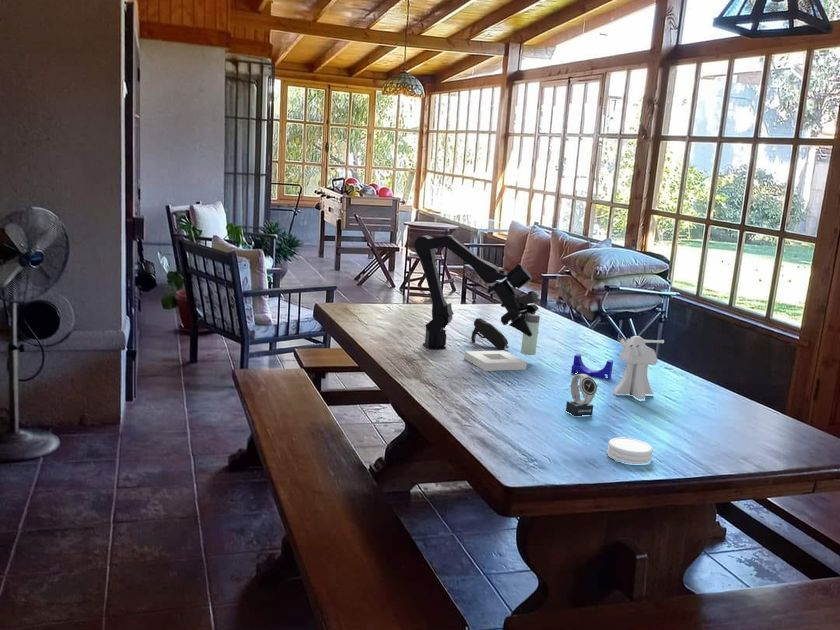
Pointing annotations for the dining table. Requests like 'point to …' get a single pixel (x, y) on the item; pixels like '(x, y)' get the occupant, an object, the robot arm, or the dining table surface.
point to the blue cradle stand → (582, 369)
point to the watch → (588, 391)
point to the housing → (495, 360)
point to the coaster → (629, 450)
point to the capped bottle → (531, 341)
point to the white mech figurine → (636, 366)
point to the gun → (489, 334)
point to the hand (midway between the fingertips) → (534, 334)
